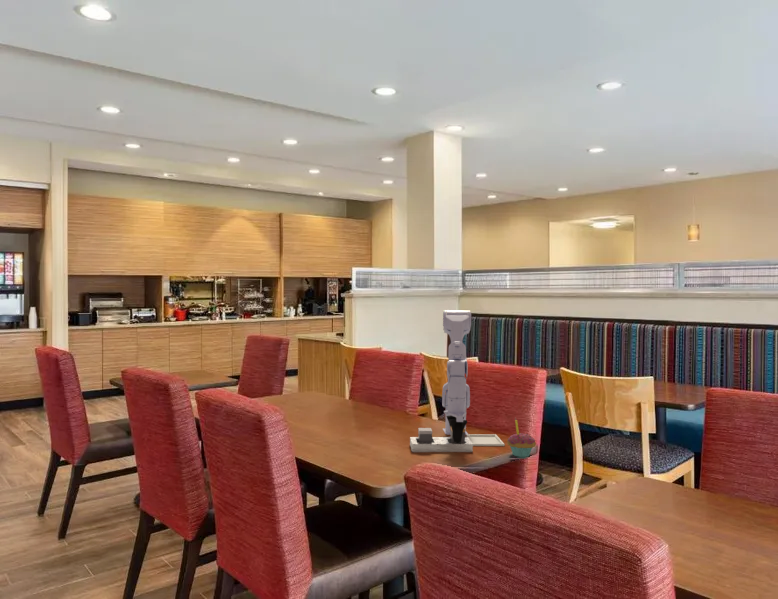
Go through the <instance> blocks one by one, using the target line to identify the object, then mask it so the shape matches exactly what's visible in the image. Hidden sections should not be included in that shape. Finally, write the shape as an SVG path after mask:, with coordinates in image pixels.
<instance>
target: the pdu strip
mask: <svg viewBox="0 0 778 599" xmlns="http://www.w3.org/2000/svg"><path fill="white" fill-rule="evenodd" d="M409 447H410V450H411V451H410V452H411V453H473V451H474V450H473V447H474V446H473V444H472V442H471V441H470V439H469V438H468V437H466V436H465V443H450V436H441V437H440V436H432V443H418V436H410V437H409Z"/></svg>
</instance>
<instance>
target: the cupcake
mask: <svg viewBox="0 0 778 599" xmlns="http://www.w3.org/2000/svg"><path fill="white" fill-rule="evenodd" d="M514 421H515V431H516V433H513V434H511V435H509V437H508V438H507V443H506V444H507V445H508V446H509V447H510V450H511V453H512V456H514V457H515V458H517V459H522V460H523V459H528V458H529V457H530V456H531V455H530V454H531V452H532V449H533V448H535V447H536V440H535V438H534V437H533V436H531V434H528V433H524V432H523V433H522V432H520V431H519V423H518V420H517V417H515V418H514Z"/></svg>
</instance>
